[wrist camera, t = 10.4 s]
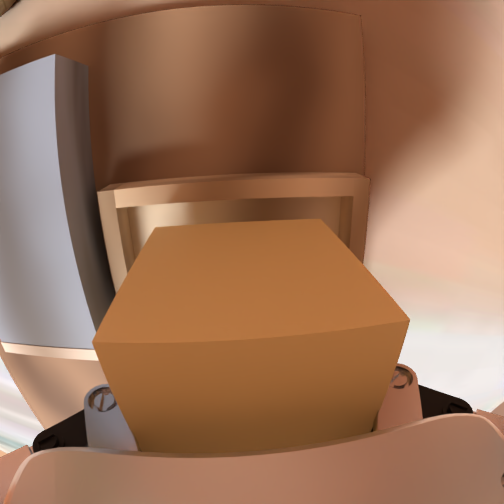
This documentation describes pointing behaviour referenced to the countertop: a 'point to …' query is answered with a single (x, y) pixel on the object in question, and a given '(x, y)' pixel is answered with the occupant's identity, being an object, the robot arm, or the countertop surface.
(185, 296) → the block
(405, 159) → the countertop surface
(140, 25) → the board
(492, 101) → the countertop surface
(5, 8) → the fennel bulb
